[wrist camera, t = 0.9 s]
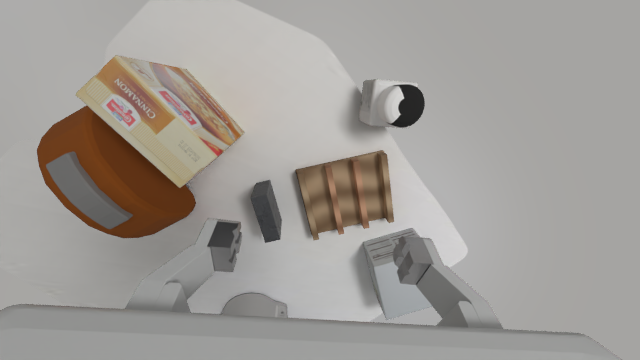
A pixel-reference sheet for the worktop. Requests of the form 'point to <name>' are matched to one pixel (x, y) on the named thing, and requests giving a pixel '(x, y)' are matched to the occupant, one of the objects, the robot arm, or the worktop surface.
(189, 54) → the worktop surface
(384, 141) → the worktop surface
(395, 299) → the supplement box
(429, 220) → the worktop surface
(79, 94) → the coffeecake box
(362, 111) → the container
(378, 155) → the rack
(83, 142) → the orange rounded block
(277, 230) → the block
